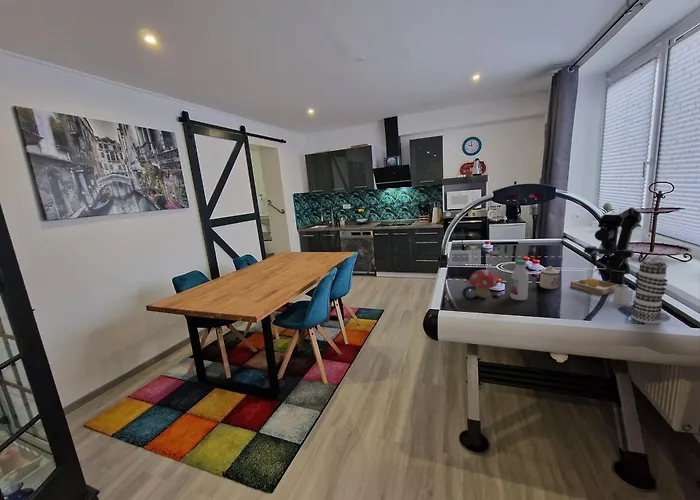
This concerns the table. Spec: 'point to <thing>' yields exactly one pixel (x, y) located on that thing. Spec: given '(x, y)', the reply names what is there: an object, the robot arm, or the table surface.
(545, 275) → the teacup with lid
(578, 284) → the tray
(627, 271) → the robot arm
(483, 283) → the decorative mushroom
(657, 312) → the decorative candle
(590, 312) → the table surface
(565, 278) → the table surface
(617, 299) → the cup
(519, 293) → the milk bottle
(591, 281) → the ball
